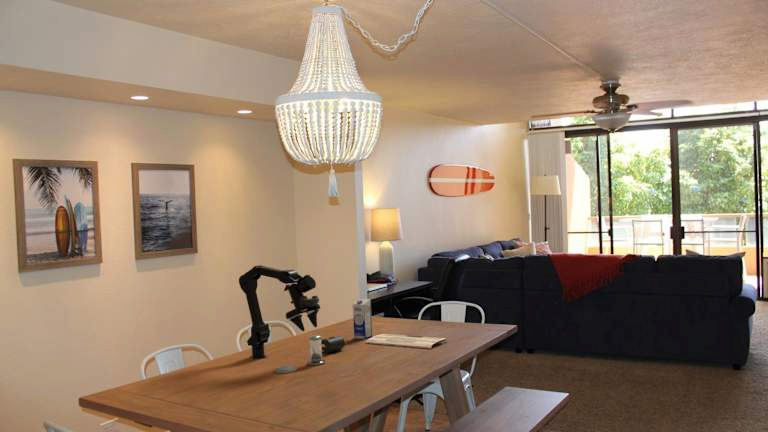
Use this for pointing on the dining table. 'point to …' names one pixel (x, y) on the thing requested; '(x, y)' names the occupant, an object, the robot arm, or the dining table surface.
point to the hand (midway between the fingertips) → (309, 329)
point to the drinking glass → (315, 346)
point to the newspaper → (405, 340)
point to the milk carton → (362, 319)
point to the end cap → (332, 344)
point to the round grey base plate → (316, 361)
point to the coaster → (285, 369)
